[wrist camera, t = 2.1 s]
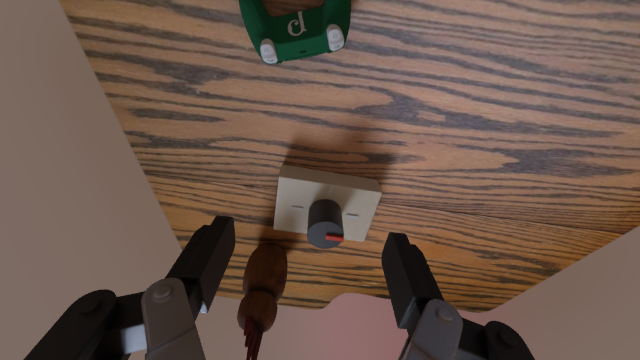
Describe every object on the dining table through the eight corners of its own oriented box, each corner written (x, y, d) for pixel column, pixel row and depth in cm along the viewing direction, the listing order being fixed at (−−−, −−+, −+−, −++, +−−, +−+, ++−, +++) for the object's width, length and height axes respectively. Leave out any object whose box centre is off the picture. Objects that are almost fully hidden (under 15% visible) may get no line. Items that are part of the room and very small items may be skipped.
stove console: (276, 215, 34) (272, 230, 31) (282, 163, 29) (278, 176, 27) (360, 227, 35) (363, 243, 32) (377, 178, 30) (382, 192, 28)
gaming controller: (253, 22, 23) (256, 75, 22) (234, -18, 20) (237, 43, 18) (347, 0, 23) (357, 54, 21) (346, -45, 19) (358, 16, 18)
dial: (306, 222, 30) (304, 248, 27) (311, 196, 28) (309, 220, 25) (337, 226, 31) (339, 253, 27) (344, 201, 29) (348, 226, 25)
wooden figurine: (287, 268, 39) (271, 382, 27) (252, 264, 39) (218, 378, 26) (292, 239, 36) (275, 353, 23) (252, 234, 35) (214, 347, 23)
